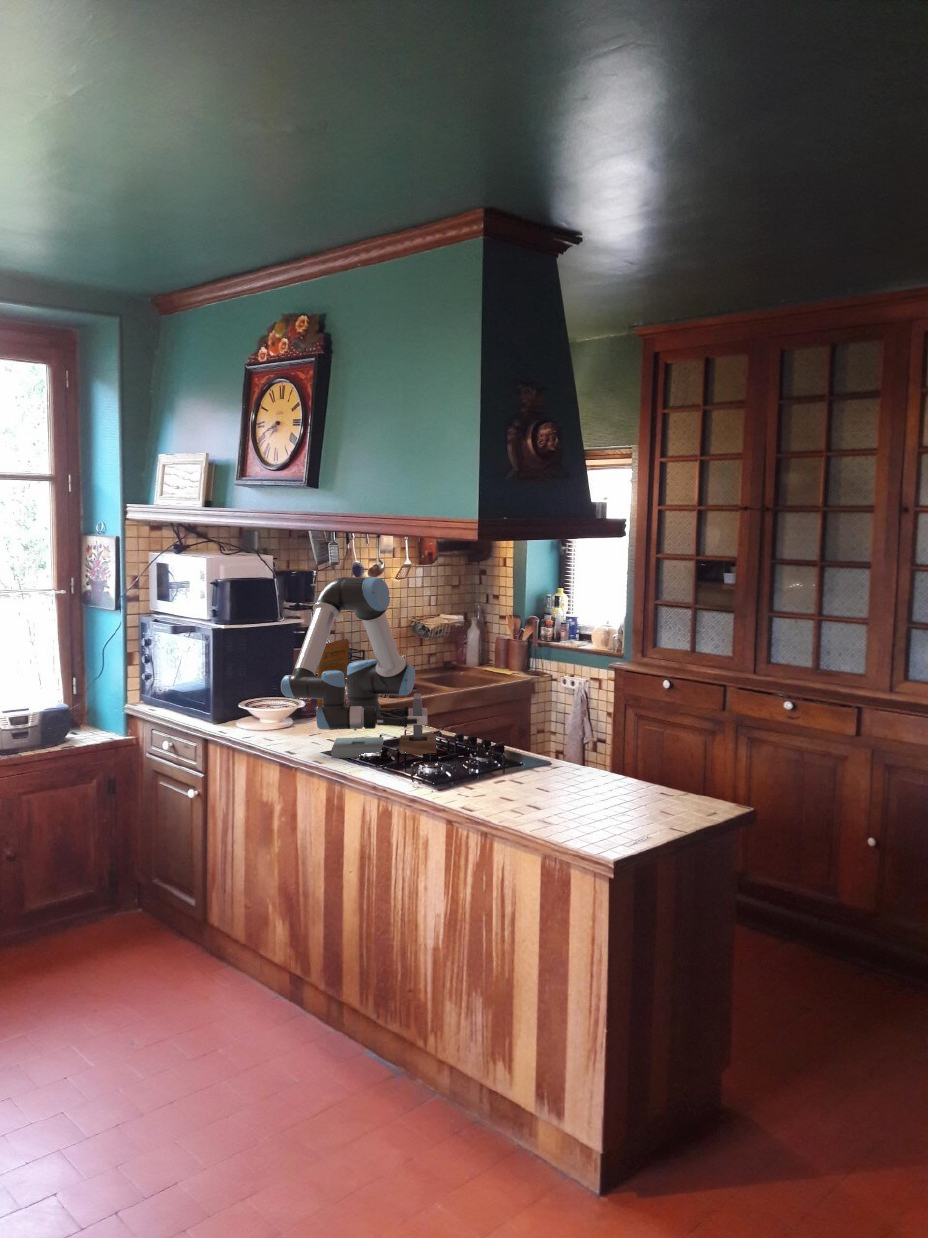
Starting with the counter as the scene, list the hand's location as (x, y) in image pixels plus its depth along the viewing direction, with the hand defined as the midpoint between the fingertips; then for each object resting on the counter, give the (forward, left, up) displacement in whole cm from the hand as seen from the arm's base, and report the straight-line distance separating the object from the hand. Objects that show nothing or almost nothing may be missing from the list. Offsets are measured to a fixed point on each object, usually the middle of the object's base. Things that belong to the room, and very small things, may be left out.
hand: (427, 716), depth 331 cm
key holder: (0, -3, -11) cm, 12 cm away
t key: (0, -3, -11) cm, 12 cm away
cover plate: (0, -23, -11) cm, 26 cm away
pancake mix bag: (-78, -39, -12) cm, 88 cm away
